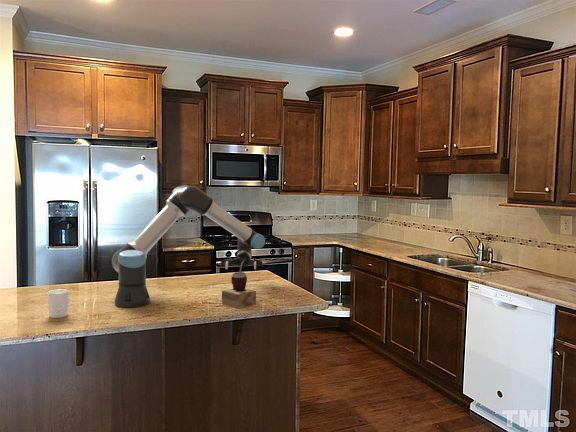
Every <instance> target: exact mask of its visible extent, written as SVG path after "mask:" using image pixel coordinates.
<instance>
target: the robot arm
mask: <svg viewBox="0 0 576 432" xmlns="http://www.w3.org/2000/svg"><path fill="white" fill-rule="evenodd" d="M165 203H166V205H165V206H164V207H163V208H162V209H161V211H159V213H158V214H157V215H156V216H155V217H154V218H153V219H152V220H151V221H150V222H149V223H148V224H147V226H146V227H145V228H144V229H143V230H142V231H141V232H140V233H139V235H138V236H137V237H136V238H135V239H134V240H133V241H132V242H131V241H130V242H127V243H126V244H125V245H124V246H123V247H122V248H120V249H119V250H117V251H115V253H114V254H113V256H112V258H111V264H112V265H111V266H112V268H113V269H114V271H115V272H117V273H118V288H117V291H116V294H115V298H114V306H116V307H119V308H137V307H138V308H139V307H143V306H144V307H145V306H147V305H148V304H150V303H151V302H150V301H151V297H150V294H149V291H148V289H147V281H146V280H147V271H146V270H147V269H146V268H147V265H146V264H147V258H148V257H147V255H148V253H149V252H150V251H151V250H152V248H153V247H154V246H155V245H156V244H157V243H158V241H159V240H161V238H162V237H163V236H164V235H165V234H166V233H167V231H168V230H169V229H170V228H171V227H173V225H174V224H175V223H176V221H178V219H179V218H180V217H185V216H186V215H187V214H188V213H189V212H190V211H193V212H195V213H197V214H199V215H201V216H206V217H207V218H208V219H210V220H211V221H213V222H214V223H216V224H217V225H219V226H220V227H221V228H223V229H224V230H226V231H227V232H229V233H231V234H232V235H233V236H235V237H236V238H237V254H236V257H235V258H232V257H229V258H227V259H223V260H220V266H221V267H224V269H225V270H228V269H229V266H238V267H239V268H240V267H241V266H240V265H241V263H242V261H243V260H245V261H244V262H243V265H242V268H246V267H248V266H253V269H254V270H257V268H259V267H263V261H262V260H260V259H257V258H255V257H254V258H252V256H253V255H252V248H253V249H256V250H257V249H259V250H260V249H261V248H263V247H264V246H265V243H266V239H265V236H264V235H262V234H261V233H258V232H256V231H255V230H253V228H251V227H249V226H248V225H247V224H245V223H243V222H242V221H241V220H240V219H238V218H237V217H235V216H234V215H232V214H231V213H230V212H228V211H226V210H225V209H223V208H222V207H221V206H219V205H218V204H217V203H215V201H214V199H213V198H212V197H210V196H209V195H208V194H207V193H205V192H204V191H203V190H202V189H200V188H199V187H197V186H194V185H186V184H183V185H179V186H177V187H175V188H174V189H173V190H172V191H171V194H170V196H169V197H168V199H166V200H165Z"/></svg>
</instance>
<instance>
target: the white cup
mask: <svg viewBox="0 0 576 432" xmlns="http://www.w3.org/2000/svg"><path fill="white" fill-rule="evenodd" d="M69 293H70V291H69V289H54V290H53V289H52V290H49V291H47V292H46V294H47V305H48V308H47V309H48V316H49V318H53V319H59V318H64V317H67V316H68V314H69V303H70V302H69V300H70V299H69V295H70V294H69Z"/></svg>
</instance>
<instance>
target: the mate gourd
mask: <svg viewBox="0 0 576 432" xmlns="http://www.w3.org/2000/svg"><path fill="white" fill-rule="evenodd" d="M244 261H245V260H243V261H242V263H241V265H240V266H241V267H240V266H239V271H236V272H233V273H232V275H231V279H230V280H231V281H230V282H231V284H232V289H233V290H236V291H235V292H238V291H245V289H246V287H247V282H248V277H247V273H245V272H243V271H242V268H243V267H242V265H243V262H244Z"/></svg>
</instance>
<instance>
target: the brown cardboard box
mask: <svg viewBox="0 0 576 432" xmlns="http://www.w3.org/2000/svg"><path fill="white" fill-rule="evenodd" d="M235 291H236V290H233V288H230V289H229V288H228V289H225V290H221V305H225V306H228V307H232V308H234V309H236V310H237V309H242V308H245V307H250V306H254V305H257V291H256V290H253V289H249V288H245V291H238V292H235Z"/></svg>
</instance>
